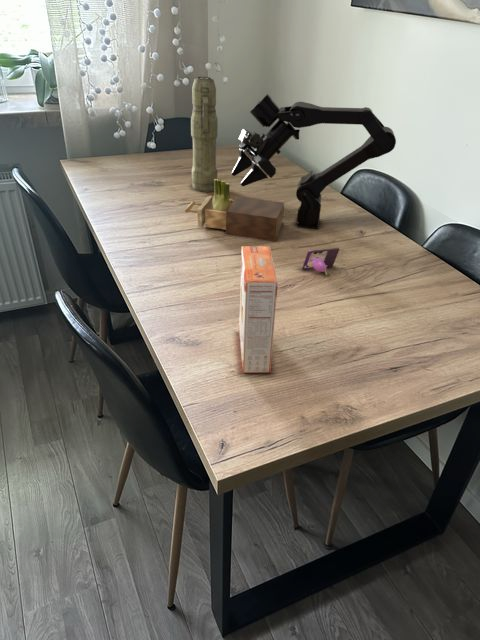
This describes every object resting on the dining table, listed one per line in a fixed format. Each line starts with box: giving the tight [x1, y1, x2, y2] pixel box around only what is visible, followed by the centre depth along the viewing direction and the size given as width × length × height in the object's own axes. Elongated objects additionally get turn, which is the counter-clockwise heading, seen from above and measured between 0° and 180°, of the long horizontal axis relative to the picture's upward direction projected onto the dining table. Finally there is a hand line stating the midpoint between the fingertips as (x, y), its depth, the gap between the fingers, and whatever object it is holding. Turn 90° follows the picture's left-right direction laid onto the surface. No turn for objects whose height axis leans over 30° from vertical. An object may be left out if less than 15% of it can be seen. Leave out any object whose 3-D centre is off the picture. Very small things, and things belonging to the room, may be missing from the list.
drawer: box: [184, 195, 234, 231], centre depth 154 cm, size 19×12×6 cm, turn 79°
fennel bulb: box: [212, 178, 231, 212], centre depth 151 cm, size 6×5×12 cm
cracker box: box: [238, 245, 279, 374], centre depth 98 cm, size 14×6×21 cm, turn 5°
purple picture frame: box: [301, 247, 340, 276], centre depth 133 cm, size 7×5×9 cm
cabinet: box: [225, 195, 285, 242], centre depth 153 cm, size 15×13×7 cm
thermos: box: [190, 76, 219, 193], centre depth 171 cm, size 9×12×35 cm
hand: (236, 180), depth 149 cm, fingers open, 9 cm apart
